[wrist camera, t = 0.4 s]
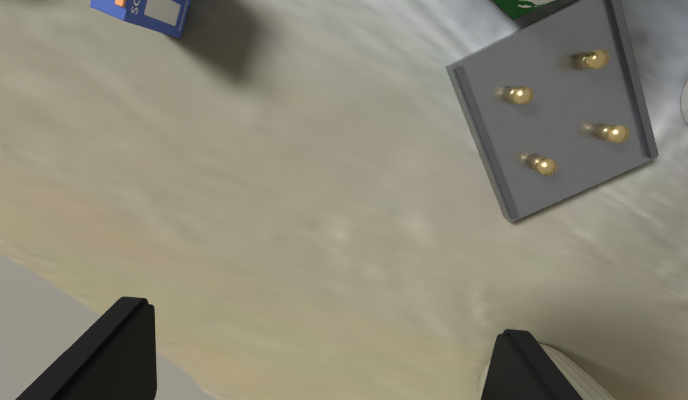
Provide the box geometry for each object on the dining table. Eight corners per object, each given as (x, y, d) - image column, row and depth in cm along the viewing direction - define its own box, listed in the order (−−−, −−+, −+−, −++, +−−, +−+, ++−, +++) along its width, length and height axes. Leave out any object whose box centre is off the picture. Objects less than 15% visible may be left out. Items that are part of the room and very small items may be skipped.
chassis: (445, 66, 43) (459, 64, 38) (600, -11, 41) (635, -24, 36) (503, 217, 48) (522, 231, 43) (643, 154, 46) (679, 162, 41)
